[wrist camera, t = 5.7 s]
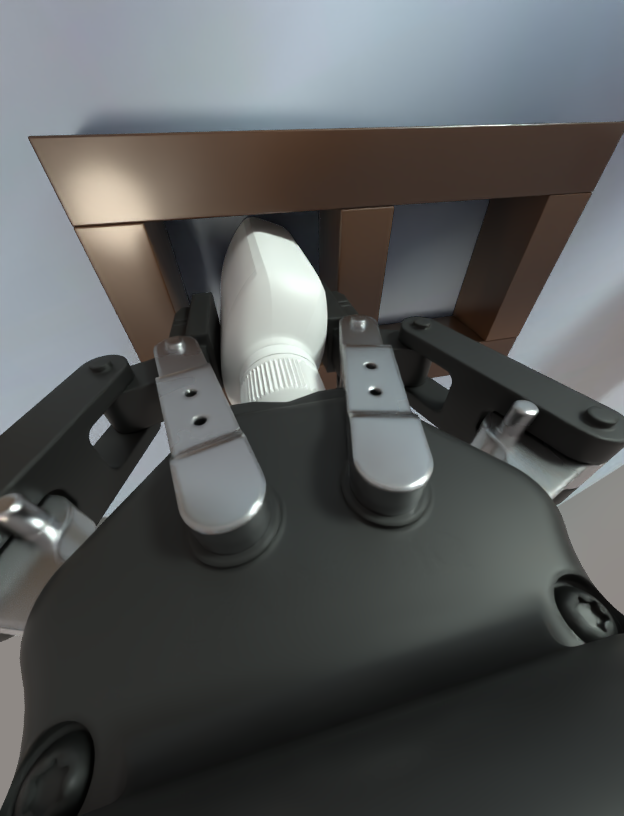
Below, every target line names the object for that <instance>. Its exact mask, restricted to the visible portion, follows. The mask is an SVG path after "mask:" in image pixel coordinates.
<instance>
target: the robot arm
mask: <svg viewBox="0 0 624 816" xmlns="http://www.w3.org/2000/svg"><path fill="white" fill-rule="evenodd" d="M321 283H322V285H323V288H324V290H325V295H326V301H327V336H326V343H325V349H324V354H323V357H322V362H323V365H324V367H325V369H326V371H327V373H331V372H336V373H337V377H336V388H335V389H329V390H323V391H317V392H315V393H312V394H309V395H306V396H303V397H300V398H298V399H295V400H292V401H289V402H248V403H241V404H235V405H229V403H228V401H227V399H226V397H225V395H224V393H223V390H222V389H223V388H224V384H223V379H222V373H221V357H220V322H219V318H218V314H217V311H216V307H215V303H214V299H213V295H212V293H211V292H207V293H198V294H192V299H191V305H190V307H183V308H181V309H180V310H179V311H178V312H176V313H175V316H174V320H173V321H174V322H173V324H172V327H171V331H170V335H169V338H167V339H165V340H163V341H161V342H159V343H158V344H157V345H156V346H155V347H154V350H153V352H154V357H155V358H153V359H150V360H148V361H145V362H141V363H138V364H135V365H131V366H130V365H129V363H128V361H127V359H126V358H125V357H123V356H120V355H106V356H102V357H98V358H95V359H93V360H90V361H88V362H86V363H85V364H83V365H82V366H81V367H80V368H78V369H77V370H76V371H75V372H74V373H73V374H71V375H70V376H69V377H68V378H67V379H66V380H64V381H63V382H62V383H61V384H60V385H59V386H57V387H56V388H55V389H54V390H53V391H52V392H50V393H49V394H48V395H47V396H46V397H45V398H43V399H42V400H41V401H40V402H39V403H38V404H37V405H35V406H34V407H33V408H32V409H31V410H30V411H28V412H27V413H26V414H25V415H24V416H23V417H21V418H20V419H19V420H18V421H17V422H16V423H14V424H13V425H12V426H11V427H10V428H9V429H7V430H6V431H5V432H4V433H3V434H2V435H0V642H2V641H4V640H6V639H8V638H11V637H12V636H14V635H17V636H23V637H22V641H21V650H20V665H21V673H22V680H23V686H24V697H25V698H24V699H25V714H24V730H23V737H22V744H21V752H20V757H19V761H18V765H17V769H16V772H15V775H14V778H13V781H12V784H11V787H10V789H9V791H8V794H7V796H6V799H5V801H4V803H3V805H2V808H1V810H0V816H624V615H623V614H621V613H620V612H619V611H617V609H615V608H614V607H613V606H612V605H611V604H610V603H609V602H608V601H607V600H606V599H605V598H604V597H603V595H602V594H601V593H600V592H599V591H598V590H597V588H596V587H595V586H594V585H593V583H592V582H591V580H590V579H589V577H588V575H587V574H586V572H585V570H584V569H583V567H582V565H581V563H580V561H579V559H578V557H577V555H576V553H575V551H574V549H573V547H572V544H571V542H570V539H569V537H568V533H567V530H566V526H565V524H564V521H563V518H562V515H561V513H560V511H559V509H558V507H557V506H556V505H557V504H560V503H561V502H562V501H563V500H565V499H566V498H567V497H568V496H569V495H570V494H571V493H572V492H574V491H575V490H576V489H577V488H578V487H579V486H580V485H582V484H583V483H584V482H585V481H586V480H587V479H588V478H589V477H591V476H592V475H593V474H594V473H595V472H596V471H597V470H598V469H600V468H601V467H602V466H603V465H604V464H605V463H606V462H608V461H609V460H610V459H611V458H612V457H613V456H614V455H615V454H617V453H618V452H619V451H620V450H621V449H622V448H623V447H624V416H623V415H621V414H620V413H618V412H617V411H615V410H613V409H611V408H609V407H607V406H605V405H603V404H601V403H599V402H597V401H595V400H593V399H591V398H589V397H587V396H585V395H583V394H581V393H579V392H577V391H575V390H573V389H571V388H569V387H567V386H565V385H563V384H561V383H559V382H557V381H555V380H553V379H551V378H549V377H547V376H545V375H543V374H541V373H539V372H537V371H535V370H533V369H531V368H529V367H527V366H525V365H523V364H521V363H519V362H517V361H515V360H513V359H511V358H509V357H507V356H505V355H503V354H501V353H499V352H497V351H495V350H493V349H491V348H489V347H487V346H485V345H483V344H481V343H479V342H477V341H475V340H473V339H471V338H469V337H467V336H465V335H463V334H461V333H459V332H457V331H455V330H453V329H451V328H449V327H447V326H445V325H443V324H441V323H439V322H437V321H435V320H432V319H429V318H425V317H409V318H406V319H404V320H403V321H402V322H401V326H400V330H385V329H379V325H378V322H377V321H376V320H375V319H374V318H372V317H370V316H367V315H361V314H358V312H357V311H356V310H355V308H354V307H353V306H352V304H351V303H350V302H349V301H348V299H347V298H346V297H345V295H343V294H341V293H339V292H337V291H330V289H329V288H328V286H327V285H326V283H325V282H324V281H321ZM432 362H433V363H435V364H437V365H438V366H440V367H441V368H443V369H445V370H446V371H447V372H448V373H449V374H450V376H451V378H452V385H451V387H450V390H448V389H446V388H445V387H443V386H442V385H440V384H439V383H437V382H436V381H434V380H433V379H431V378H430V377H428V376H427V375H428V372H429V369H430V366H431V363H432ZM410 406H411V407H412V408H413V409H415V410H416V411H417V412H418V413H420V414H421V415H422V416H424V417H425V418H426V419H427V420H429V421H430V422H431V423H432V424H434V425H435V426H436V427H438V428H439V429H438V428H436V427H434V426H432V425H430V424H428V423H426V422H424V421H422V420H420V418H419V417H418V415H416V414H413V413H412V411H411V408H410ZM103 414H104V415H105V416H106V418H107V419H108V421H109V422H110V423H111V426H110V427H109V428H108V429H107V430H106V432H105V433H104V434H103V435H102V436H101V438H100V439H99V440H98V441H97V442H96V444H95V445H94V446H92V445H91V443H90V441H89V432H90V429H91V427H92V426H93V425H94V424H95V423H96V421H97V420H98V419H99V418H100V417H101V416H102V415H103ZM163 421H164V423H165V428H166V433H167V437H168V442H169V447H170V452H171V453H170V454H169V455H168V456H167V457H166V458H165V459H164V460H163V461H162V462H161V463H160V464H159V465H158V466H157V467H156V468H155V469H154V470H153V471H152V472H151V473H150V474H149V475H148V476H147V477H146V479H145V480H144V481H143V482H142V483H141V484H140V485H139V486H138V487H137V488H136V489H135V490H134V491H133V492H132V493H131V494H130V495H129V496H128V497H127V498H126V499H125V500H124V501H123V502H122V503H121V504H120V505H119V506H118V507H117V509H116V510H115V511H114V512H113V513H112V514H111V515H110V516H109V517H108V518H107V519H106V520H105V521H104V522H103V523H102V524H101V525H100V526H99V527H98V528H96V526H97V524H98V523H99V521H100V519H101V518H102V517H103V515H104V514H105V512H106V511H107V509H108V508H109V506H110V504H111V503H112V501H113V500H114V498H115V497H116V495H117V494H118V492H119V491H120V489H121V488H122V486H123V485H124V483H125V482H126V480H127V479H128V477H129V475H130V474H131V472H132V471H133V469H134V468H135V466H136V465H137V463H138V462H139V460H140V459H141V457H142V456H143V454H144V453H145V451H146V450H147V448H148V447H149V445H150V443H151V442H152V440H153V439H154V437H155V436H156V434H157V433H158V431H159V429H160V427H161V422H163Z"/></svg>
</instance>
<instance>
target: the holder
mask: <svg viewBox="0 0 624 816" xmlns="http://www.w3.org/2000/svg"><path fill="white" fill-rule="evenodd" d="M623 133H624V121H620V122H579V123H538V124H498V125H457V126H416V127H375V128H334V129H293V130H252V131H211V132H171V133H130V134H89V135H48V136H29V137H28V139H29V141H30V143H31V145H32V147H33V149H34V151H35V153H36V155H37V157H38V159H39V161H40V163H41V165H42V167H43V169H44V171H45V172H46V174H47V176H48V178H49V180H50V182H51V184H52V186H53V188H54V190H55V192H56V194H57V196H58V198H59V200H60V202H61V204H62V206H63V208H64V210H65V212H66V214H67V216H68V218H69V220H70V222H71V224H72V226H74V230H75V232H76V234H77V236H78V238H79V240H80V242H81V244H82V246H83V248H84V250H85V252H86V254H87V256H88V258H89V260H90V262H91V264H92V266H93V268H94V270H95V272H96V274H97V276H98V278H99V280H100V282H101V284H102V286H103V288H104V290H105V292H106V294H107V295H108V297H109V299H110V301H111V303H112V305H113V307H114V309H115V311H116V313H117V315H118V317H119V319H120V321H121V323H122V325H123V327H124V329H125V331H126V333H127V335H128V337H129V339H130V341H131V343H132V345H133V347H134V349H135V351H136V353H137V355H138V357H139V359H140V361H141V362H145V361H148V360H150V359H153V358H155V357H154V352H153V350H154V347H155V346H156V345H157V344H158V343H159V342H161V341H163V340H165V339H167V338H169V335H170V331H171V327H172V324H173V322H174V321H173V320H174V316H175V313H176V312H178V311H179V310H180V309H181V308H183V307H190V303H189V300H188V297H187V294H186V291H185V287H184V284H183V281H182V278H181V275H180V271H179V268H178V265H177V262H176V259H175V256H174V252H173V249H172V246H171V243H170V240H169V237H168V233H167V230H166V227H165V224H164V221H169V220H184V219H199V218H214V217H229V216H244V215H259V214H273V213H288V212H303V211H318V210H319V279H320V281H324V282H325V283H326V285H327V286H328V288H329V289H330V291H337V292H339V293H341V294H343V295H345V297H346V298H347V299H348V301H349V302H350V303H351V304H352V306H353V307H354V308H355V310H356V311H357V312H358V314H361V315H367V316H370V317H372V318H374V319H375V320H376V321H377V322H378V316H379V309H380V302H381V295H382V288H383V281H384V275H385V268H386V261H387V254H388V247H389V240H390V233H391V227H392V220H393V213H394V206H393V205H407V204H422V203H437V202H452V201H467V200H482V199H490V202H489V205H488V208H487V211H486V214H485V217H484V220H483V224H482V227H481V230H480V233H479V236H478V239H477V242H476V245H475V248H474V251H473V254H472V257H471V260H470V263H469V266H468V269H467V272H466V275H465V278H464V281H463V284H462V287H461V290H460V293H459V296H458V299H457V303H456V306H455V309H454V312H453V316H447V317H439V318H431V319H432V320H435V321H437V322H439V323H441V324H443V325H445V326H447V327H449V328H451V329H453V330H455V331H457V332H459V333H461V334H463V335H465V336H467V337H469V338H471V339H473V340H475V341H477V342H479V343H481V344H483V345H485V346H487V347H489V348H491V349H493V350H495V351H497V352H499V353H501V354H503V355H505V356H508V354H509V352H510V350H511V348H512V346H513V344H514V342H515V340H516V338H517V336H518V335H519V333H520V331H521V329H522V327H523V325H524V324H525V322H526V320H527V318H528V316H529V314H530V312H531V310H532V308H533V306H534V304H535V302H536V300H537V298H538V297H539V295H540V293H541V291H542V289H543V287H544V285H545V283H546V281H547V279H548V277H549V275H550V273H551V272H552V270H553V268H554V266H555V264H556V262H557V260H558V258H559V256H560V254H561V252H562V250H563V248H564V246H565V245H566V243H567V241H568V239H569V237H570V235H571V233H572V231H573V229H574V227H575V225H576V223H577V221H578V220H579V218H580V216H581V214H582V212H583V210H584V208H585V206H586V204H587V202H588V200H589V198H590V196H591V195H592V192H593V190H594V189H595V187H596V185H597V183H598V181H599V179H600V177H601V175H602V173H603V171H604V169H605V167H606V165H607V163H608V162H609V160H610V158H611V156H612V154H613V152H614V150H615V148H616V146H617V144H618V142H619V140H620V138H621V137H622V135H623ZM400 326H401V323H393V324H386V325H379V329H385V330H400ZM318 372H319V375H320V377H321V380H322V382H323V384H324V387H325V389H326V390H329V389H335V388H336V377H337V373H336V372H331V373H327V371H326V369H325V367H324V365H323V362H322V361H321V364H320V367H319V370H318ZM447 375H450V374H449V373H448V372H447V371H446V370H445V369H443V368H441V367H440V366H438V365H437V364H435V363H433V362H432V363H431V366H430V369H429V372H428V375H427V376H428V377H430V378H434V377H440V376H447ZM222 390H223V393H224V395H225V397H226V399H227V401H228V403H229V405H232V404H231V402H230V401H229V399H228V396H227V394H226V391H225V388H223V389H222Z"/></svg>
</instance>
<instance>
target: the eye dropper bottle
mask: <svg viewBox="0 0 624 816" xmlns="http://www.w3.org/2000/svg"><path fill="white" fill-rule="evenodd" d="M326 336H327V301H326V295H325V290H324V288H323V285H322V283H321V281H320V279H319V277H318V275H317V274H316V272H315V270H314V269H313V267H312V265H311V264H310V262H309V261H308V259H307V258H306V256H305V255H304V253H303V252H302V250H301V249H300V247H299V246H298V244H297V243H296V242H295V240H294V239H293V237H292V236H291V234H290V233H289V231H288V230H286V229H285V228H284V227H282V226H280V225H277V224H275V223H272V222H269V221H266V220H263V219H260V218H256V217H248V218H246V219H245V220H243V221H242V223H241V224H240V225H239V227H238V228H237V230H236V232H235V234H234V236H233V238H232V240H231V242H230V244H229V246H228V249H227V252H226V255H225V259H224V263H223V267H222V274H221V298H220V357H221V373H222V379H223V384H224V388H225V391H226V394H227V396H228V399H229V401H230V402H231V404H232V405H235V404H241V403H248V402H289V401H292V400H295V399H298V398H300V397H303V396H306V395H309V394H312V393H315V392H317V391H323V390H326V389H325V387H324V384H323V382H322V380H321V377H320V375H319V372H318V370H319V367H320V364H321V361H322V357H323V354H324V349H325V343H326Z"/></svg>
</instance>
